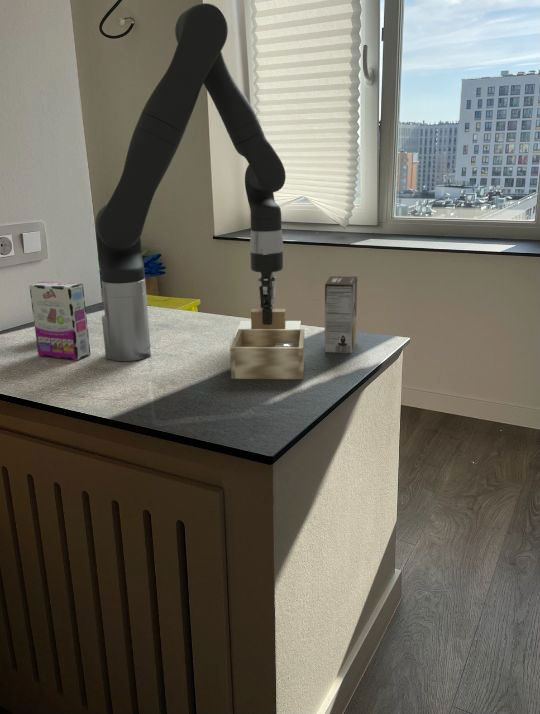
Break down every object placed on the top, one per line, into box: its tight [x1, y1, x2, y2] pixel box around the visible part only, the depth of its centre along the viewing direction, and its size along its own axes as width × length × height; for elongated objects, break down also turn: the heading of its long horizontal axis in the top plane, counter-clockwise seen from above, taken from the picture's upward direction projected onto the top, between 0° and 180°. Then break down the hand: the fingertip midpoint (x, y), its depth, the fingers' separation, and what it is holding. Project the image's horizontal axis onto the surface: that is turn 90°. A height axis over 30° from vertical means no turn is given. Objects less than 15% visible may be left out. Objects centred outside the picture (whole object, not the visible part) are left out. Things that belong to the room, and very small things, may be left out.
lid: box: [233, 308, 302, 339], centre depth 153 cm, size 15×15×6 cm
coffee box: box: [324, 275, 358, 354], centre depth 143 cm, size 9×6×16 cm
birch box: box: [229, 328, 305, 380], centre depth 131 cm, size 14×14×7 cm
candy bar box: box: [28, 281, 91, 361], centre depth 142 cm, size 11×5×16 cm, turn 68°
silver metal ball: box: [275, 342, 294, 347], centre depth 134 cm, size 4×4×4 cm
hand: (268, 321), depth 153 cm, fingers closed on lid, 3 cm apart
